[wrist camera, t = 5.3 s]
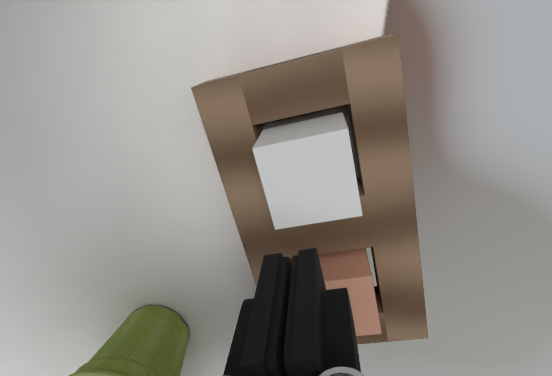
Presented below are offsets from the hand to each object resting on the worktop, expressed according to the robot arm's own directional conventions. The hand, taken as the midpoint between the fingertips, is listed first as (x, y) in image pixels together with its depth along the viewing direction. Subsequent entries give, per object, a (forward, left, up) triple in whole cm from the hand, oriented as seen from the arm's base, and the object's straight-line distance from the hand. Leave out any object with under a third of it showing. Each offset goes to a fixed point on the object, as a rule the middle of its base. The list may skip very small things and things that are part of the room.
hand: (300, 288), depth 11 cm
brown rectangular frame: (+5, 0, -15) cm, 16 cm away
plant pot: (+15, -18, -15) cm, 28 cm away
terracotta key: (+10, 0, -13) cm, 17 cm away
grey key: (0, 0, -12) cm, 12 cm away
